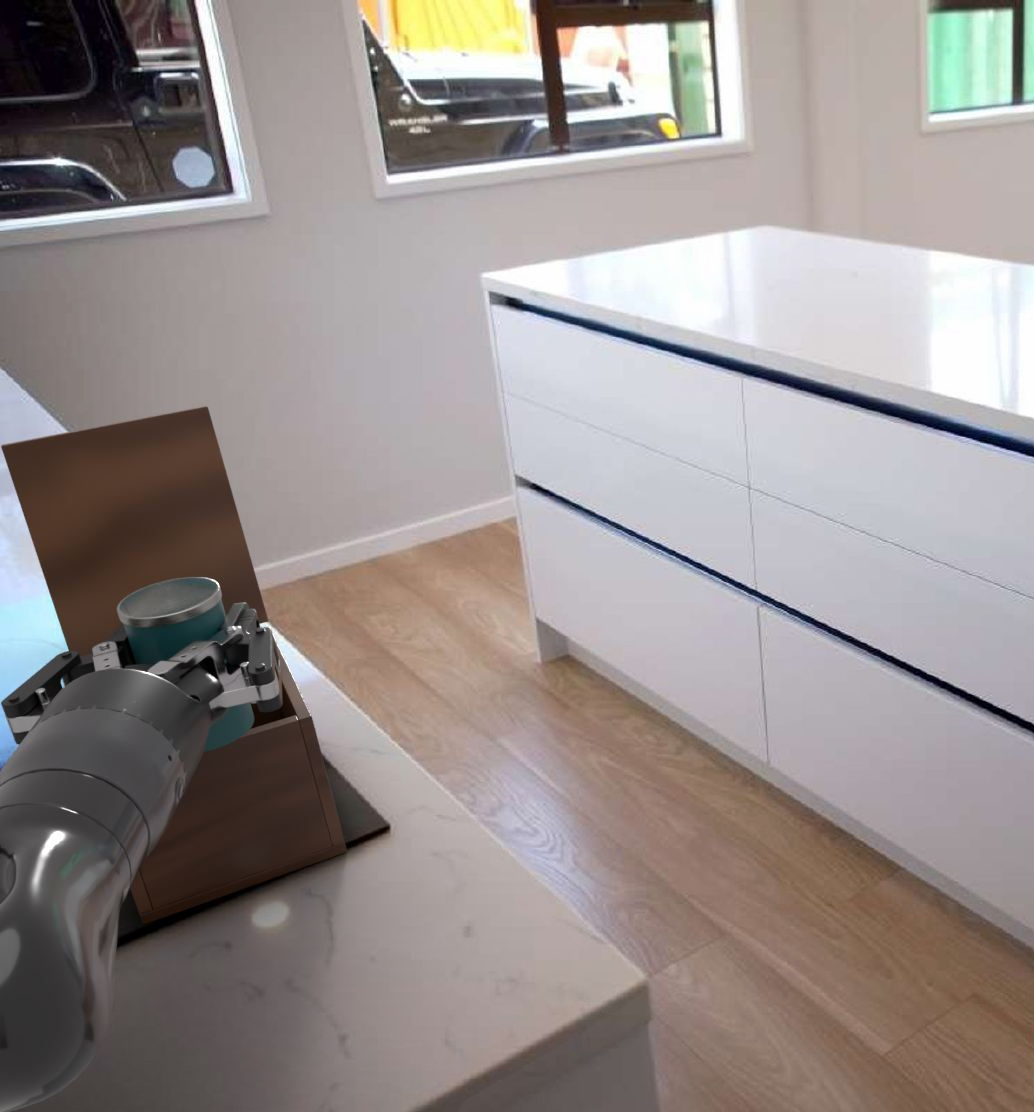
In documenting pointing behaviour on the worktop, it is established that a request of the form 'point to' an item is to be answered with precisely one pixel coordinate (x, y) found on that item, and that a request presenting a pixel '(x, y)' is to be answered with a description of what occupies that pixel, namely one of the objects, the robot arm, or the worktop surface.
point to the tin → (181, 635)
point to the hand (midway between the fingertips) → (193, 623)
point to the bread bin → (245, 814)
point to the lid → (130, 517)
